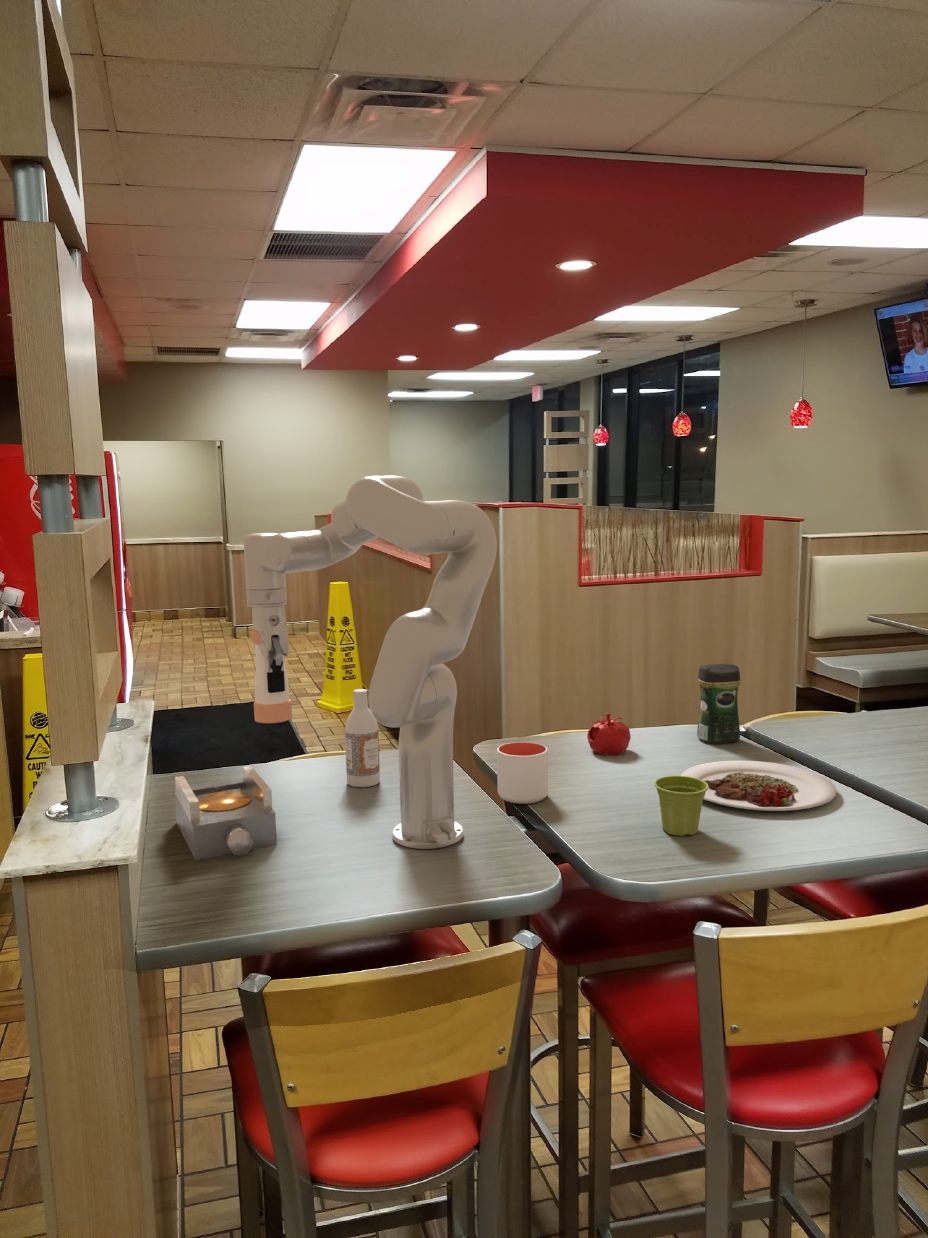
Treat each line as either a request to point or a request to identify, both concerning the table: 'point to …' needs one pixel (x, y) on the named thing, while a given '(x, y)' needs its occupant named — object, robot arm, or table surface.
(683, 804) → the plant pot
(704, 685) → the coffee jar
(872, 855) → the table surface
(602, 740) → the pomegranate
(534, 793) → the cup
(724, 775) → the plated food
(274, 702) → the pepper shaker
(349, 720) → the bath foam
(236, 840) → the portable stove
